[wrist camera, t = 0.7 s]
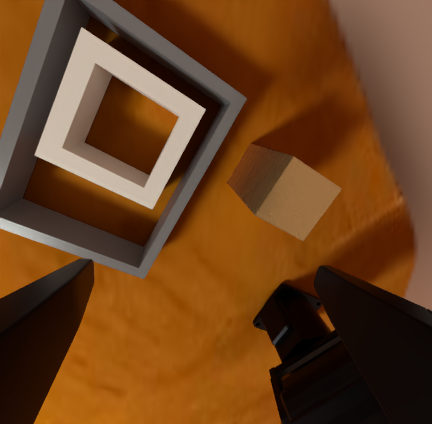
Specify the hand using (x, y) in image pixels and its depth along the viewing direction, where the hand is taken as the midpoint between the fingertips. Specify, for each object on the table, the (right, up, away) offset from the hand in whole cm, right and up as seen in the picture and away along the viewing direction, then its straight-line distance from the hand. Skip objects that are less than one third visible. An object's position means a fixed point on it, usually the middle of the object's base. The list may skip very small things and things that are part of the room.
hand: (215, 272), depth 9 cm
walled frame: (-8, +7, +10) cm, 14 cm away
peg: (+4, +6, +12) cm, 14 cm away
